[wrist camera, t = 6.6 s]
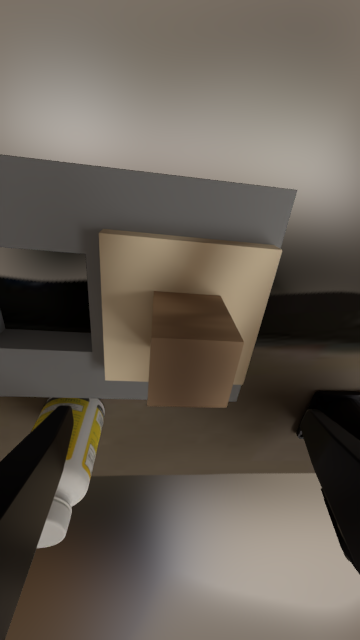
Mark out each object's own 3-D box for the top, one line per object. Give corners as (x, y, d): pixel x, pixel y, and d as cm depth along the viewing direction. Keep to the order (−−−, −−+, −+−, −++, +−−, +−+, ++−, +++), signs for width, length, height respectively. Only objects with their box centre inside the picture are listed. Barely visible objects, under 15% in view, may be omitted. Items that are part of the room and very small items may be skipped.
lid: (274, 245, 16) (335, 282, 10) (238, 373, 20) (267, 445, 15) (103, 228, 14) (69, 260, 9) (108, 369, 19) (87, 445, 14)
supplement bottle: (32, 406, 24) (-38, 534, 15) (75, 377, 23) (23, 500, 14) (77, 435, 26) (37, 561, 18) (117, 410, 25) (96, 533, 16)
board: (278, 188, 16) (297, 190, 14) (229, 381, 24) (236, 401, 22) (-71, 146, 14) (-112, 141, 12) (-2, 373, 22) (-20, 395, 20)
